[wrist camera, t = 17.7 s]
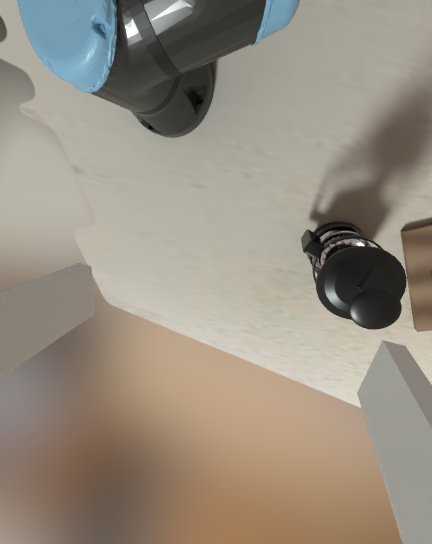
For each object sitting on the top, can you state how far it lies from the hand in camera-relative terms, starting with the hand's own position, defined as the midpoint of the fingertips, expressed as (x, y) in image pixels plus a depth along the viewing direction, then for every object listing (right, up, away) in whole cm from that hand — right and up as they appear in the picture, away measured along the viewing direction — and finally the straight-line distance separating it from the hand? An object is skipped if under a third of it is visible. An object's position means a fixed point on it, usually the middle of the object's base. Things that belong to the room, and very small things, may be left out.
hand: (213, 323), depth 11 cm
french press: (+21, +7, +32) cm, 38 cm away
